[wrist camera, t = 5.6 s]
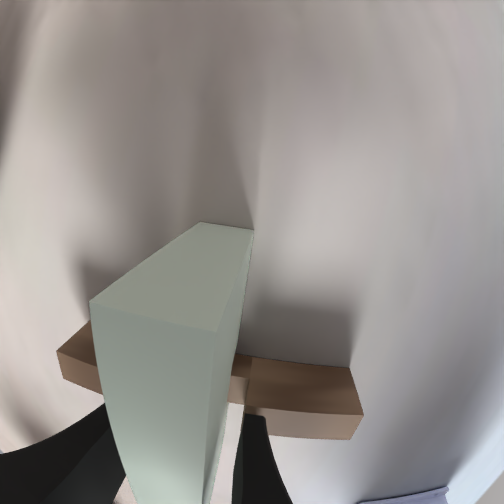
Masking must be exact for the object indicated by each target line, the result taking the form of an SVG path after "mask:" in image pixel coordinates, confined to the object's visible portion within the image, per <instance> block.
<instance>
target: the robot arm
mask: <svg viewBox="0 0 504 504" xmlns="http://www.w3.org/2000/svg"><path fill="white" fill-rule="evenodd" d="M125 476H126V473H125V470H124V467H123V464H122V461H121V458H120V455H119V452H118V449H117V446H116V442H115V439H114V436H113V432H112V429H111V425H110V421H109V417H108V413H107V409H106V405H105V403H104V404H102V405H101V406H100V407H98V408H97V409H96V410H94V411H93V412H91V413H90V414H88V415H87V416H85V417H84V418H83V419H81V420H79V421H78V422H76V423H75V424H73V425H71V426H70V427H68V428H66V429H65V430H63V431H61V432H59V433H57V434H55V435H53V436H51V437H49V438H47V439H45V440H43V441H41V442H38V443H36V444H33V445H31V446H28V447H25V448H22V449H19V450H16V451H12V452H8V453H4V454H0V504H112V503H113V501H114V498H115V496H116V494H117V492H118V490H119V488H120V486H121V484H122V482H123V480H124V478H125ZM448 491H449V488H448V487H444V488H440V489H436V490H432V491H428V492H424V493H419V494H414V495H409V496H404V497H398V498H392V499H386V500H378V501H370V502H362V503H359V504H448V503H447V500H446V497H445V494H446V493H447V492H448ZM232 504H293V503H292V501H291V499H290V497H289V495H288V492H287V490H286V488H285V486H284V483H283V481H282V478H281V476H280V473H279V470H278V468H277V465H276V462H275V459H274V456H273V452H272V449H271V445H270V441H269V437H268V432H267V425H266V418H265V417H264V416H261V415H254V414H247V413H245V414H244V419H243V424H242V429H241V433H240V438H239V443H238V447H237V453H236V459H235V465H234V471H233V486H232Z"/></svg>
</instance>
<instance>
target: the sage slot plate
mask: <svg viewBox="0 0 504 504" xmlns="http://www.w3.org/2000/svg"><path fill="white" fill-rule="evenodd" d="M253 236H254V230H250V229H244V228H237V227H231V226H224V225H218V224H211V223H205V222H199V223H197V224H196V225H194V226H193V227H191V228H190V229H188V230H187V231H185V232H184V233H183V234H181V235H180V236H178V237H177V238H175V239H174V240H172V241H171V242H169V243H168V244H167V245H165V246H164V247H162V248H161V249H159V250H158V251H157V252H155V253H154V254H152V255H151V256H150V257H148V258H147V259H145V260H144V261H143V262H141V263H140V264H138V265H137V266H136V267H134V268H133V269H131V270H130V271H129V272H127V273H126V274H125V275H123V276H122V277H121V278H119V279H118V280H116V281H115V282H114V283H112V284H111V285H110V286H108V287H107V288H106V289H104V290H103V291H102V292H100V293H99V294H98V295H97V296H95V297H94V298H93V299H91V300H90V301H89V308H90V318H91V326H92V334H93V341H94V348H95V355H96V361H97V366H98V372H99V377H100V382H101V387H102V392H103V396H104V401H105V405H106V409H107V413H108V417H109V421H110V425H111V429H112V432H113V436H114V439H115V442H116V446H117V449H118V452H119V455H120V458H121V461H122V464H123V467H124V470H125V473H126V476H127V479H128V481H129V484H130V487H131V489H132V492H133V494H134V497H135V499H136V502H137V504H210V500H211V496H212V491H213V486H214V482H215V477H216V472H217V468H218V463H219V458H220V454H221V449H222V444H223V437H224V430H225V424H226V417H227V410H228V404H229V402H227V398H228V391H229V384H230V377H231V370H232V363H233V359H234V355H235V351H236V346H237V342H238V336H239V330H240V323H241V316H242V310H243V303H244V296H245V290H246V283H247V276H248V270H249V263H250V256H251V250H252V243H253Z"/></svg>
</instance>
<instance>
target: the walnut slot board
mask: <svg viewBox="0 0 504 504" xmlns="http://www.w3.org/2000/svg"><path fill="white" fill-rule="evenodd" d="M56 352H57V356H58V360H59V364H60V368H61V372H62V375H63V378H64V379H66V380H68V381H70V382H73V383H75V384H77V385H80V386H82V387H84V388H87V389H89V390H92V391H94V392H97V393H99V394H102V395H103V392H102V387H101V382H100V377H99V372H98V366H97V361H96V355H95V348H94V341H93V334H92V326H91V320H90V321H89V322H88V323H87V324H85V325H84V326H83V327H82V328H81V329H80V330H79V331H78V332H77V333H75V334H74V335H73V336H72V337H71V338H70V339H69V340H68V341H67V342H65V343H64V344H63V345H62V346H61V347H60V348H59V349H58V350H57V351H56ZM227 402H230V403H236V404H242V405H244V411H243V418H242V424H243V419H244V414H245V413H247V414H254V415H261V416H264V417H265V418H266V425H267V432H268V435H274V436H283V437H295V438H309V439H334V440H350V439H351V437H352V436H353V434H354V432H355V430H356V429H357V427H358V425H359V423H360V421H361V420H362V418H363V416H364V414H363V410H362V407H361V403H360V400H359V397H358V393H357V390H356V387H355V384H354V381H353V377H352V374H351V371H350V368H341V367H330V366H320V365H310V364H301V363H293V362H285V361H278V360H271V359H264V358H258V357H251V356H245V355H239V354H235V355H234V359H233V363H232V370H231V377H230V384H229V391H228V398H227ZM242 424H241V429H242Z"/></svg>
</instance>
